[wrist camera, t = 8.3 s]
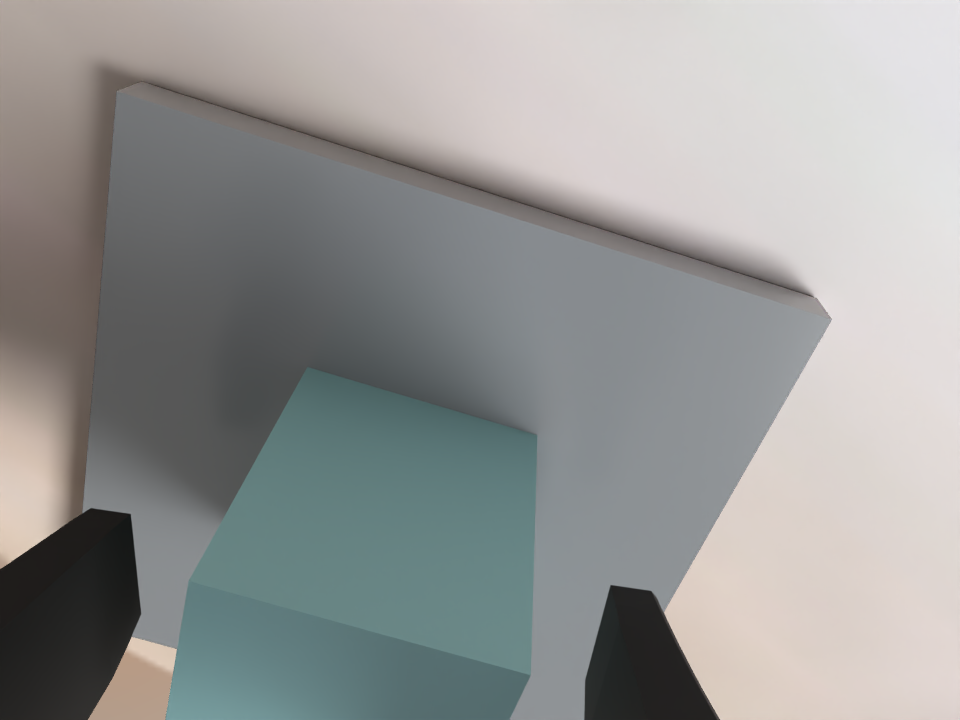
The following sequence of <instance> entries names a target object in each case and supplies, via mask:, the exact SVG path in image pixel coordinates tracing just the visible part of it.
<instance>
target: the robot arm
mask: <svg viewBox="0 0 960 720" xmlns="http://www.w3.org/2000/svg"><path fill="white" fill-rule="evenodd" d="M140 616H141V606H140V596H139V587H138V577H137V567H136V558H135V548H134V539H133V529H132V520H131V514H128V513H121V512H114V511H108V510H101V509H94V508H90V509H89V510H87V511H85V512H84V513H82V514H81V515H79V516H78V517H76V518H75V519H73V520H72V521H70V522H69V523H67V524H66V525H64V526H63V527H62V528H60V529H59V530H57V531H56V532H54V533H53V534H51V535H50V536H48V537H47V538H46V539H44V540H43V541H41V542H40V543H38V544H37V545H35V546H34V547H32V548H31V549H29V550H28V551H27V552H25V553H24V554H22V555H21V556H19V557H18V558H16V559H15V560H13V561H12V562H10V563H9V564H7V565H6V566H4V567H3V568H1V569H0V720H88V718H89V717H90V715H91V713H92V712H93V710H94V708H95V707H96V705H97V703H98V702H99V700H100V698H101V697H102V695H103V693H104V692H105V690H106V688H107V687H108V685H109V683H110V681H111V680H112V678H113V676H114V674H115V671H116V670H117V667H118V665H119V663H120V661H121V658H122V656H123V655H124V652H125V650H126V648H127V646H128V644H129V641H130V639H131V637H132V634H133V632H134V630H135V627H136V625H137V623H138V621H139V618H140ZM584 720H720V719H719V717H718V716H717V714H716V712H715V710H714V709H713V707H712V705H711V703H710V702H709V700H708V698H707V696H706V695H705V693H704V691H703V689H702V688H701V686H700V684H699V682H698V680H697V678H696V676H695V675H694V673H693V671H692V669H691V667H690V665H689V663H688V661H687V659H686V657H685V655H684V653H683V651H682V650H681V648H680V646H679V644H678V642H677V640H676V638H675V635H674V633H673V631H672V629H671V627H670V625H669V623H668V621H667V619H666V617H665V615H664V612H663V610H662V608H661V606H660V604H659V601H658V599H657V597H656V596H655V595H654V593H653V592H652V591H649V590H642V589H635V588H629V587H622V586H615V585H610V589H609V592H608V596H607V600H606V604H605V607H604V611H603V615H602V619H601V622H600V626H599V630H598V634H597V637H596V641H595V645H594V649H593V652H592V656H591V660H590V664H589V667H588V671H587V675H586V679H585V711H584Z"/></svg>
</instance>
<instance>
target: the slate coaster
mask: <svg viewBox="0 0 960 720" xmlns="http://www.w3.org/2000/svg"><path fill="white" fill-rule="evenodd" d="M831 320H832V319H831V317H830V316H829V315H828V313H827V312H826V310H825V309H824V308H823V306H822V305H821V303H820V302H819V301H818V299H817V298H814V297H811V296H808V295H805V294H802V293H799V292H796V291H793V290H789V289H786V288H783V287H780V286H777V285H774V284H771V283H768V282H765V281H761V280H758V279H755V278H752V277H749V276H746V275H743V274H740V273H736V272H733V271H730V270H727V269H724V268H721V267H718V266H715V265H712V264H708V263H705V262H702V261H699V260H696V259H693V258H690V257H687V256H684V255H680V254H677V253H674V252H671V251H668V250H665V249H662V248H659V247H655V246H652V245H649V244H646V243H643V242H640V241H637V240H634V239H631V238H627V237H624V236H621V235H618V234H615V233H612V232H609V231H606V230H603V229H599V228H596V227H593V226H590V225H587V224H584V223H581V222H578V221H575V220H571V219H568V218H565V217H562V216H559V215H556V214H553V213H550V212H546V211H543V210H540V209H537V208H534V207H531V206H528V205H525V204H522V203H518V202H515V201H512V200H509V199H506V198H503V197H500V196H497V195H494V194H490V193H487V192H484V191H481V190H478V189H475V188H472V187H469V186H466V185H462V184H459V183H456V182H453V181H450V180H447V179H444V178H441V177H437V176H434V175H431V174H428V173H425V172H422V171H419V170H416V169H413V168H409V167H406V166H403V165H400V164H397V163H394V162H391V161H388V160H385V159H381V158H378V157H375V156H372V155H369V154H366V153H363V152H360V151H357V150H353V149H350V148H347V147H344V146H341V145H338V144H335V143H332V142H328V141H325V140H322V139H319V138H316V137H313V136H310V135H307V134H304V133H300V132H297V131H294V130H291V129H288V128H285V127H282V126H279V125H276V124H272V123H269V122H266V121H263V120H260V119H257V118H254V117H251V116H247V115H244V114H241V113H238V112H235V111H232V110H229V109H226V108H223V107H219V106H216V105H213V104H210V103H207V102H204V101H201V100H198V99H195V98H191V97H188V96H185V95H182V94H179V93H176V92H173V91H170V90H167V89H163V88H160V87H157V86H154V85H151V84H148V83H145V82H139V83H136V84H134V85H131V86H128V87H126V88H123V89H120V90H118V91H117V92H116V105H115V117H114V129H113V142H112V154H111V166H110V179H109V191H108V203H107V215H106V228H105V240H104V252H103V265H102V277H101V289H100V302H99V314H98V326H97V339H96V351H95V363H94V375H93V388H92V400H91V412H90V425H89V437H88V449H87V462H86V474H85V486H84V498H83V511H82V513H84V512H85V511H87V510H89V509H90V508H94V509H101V510H108V511H114V512H121V513H128V514H131V520H132V529H133V539H134V548H135V558H136V567H137V577H138V587H139V596H140V606H141V616H140V618H139V621H138V623H137V625H136V627H135V630H134V632H133V634H132V637H135V638H139V639H142V640H146V641H150V642H153V643H157V644H161V645H164V646H168V647H172V648H175V649H177V647H178V641H179V635H180V629H181V623H182V617H183V611H184V605H185V599H186V594H187V588H188V582H189V579H190V578H191V576H192V574H193V572H194V570H195V569H196V567H197V565H198V563H199V561H200V560H201V558H202V556H203V554H204V552H205V551H206V549H207V547H208V545H209V543H210V542H211V540H212V538H213V536H214V534H215V533H216V531H217V529H218V527H219V525H220V524H221V522H222V520H223V518H224V516H225V515H226V513H227V511H228V509H229V507H230V506H231V504H232V502H233V500H234V498H235V497H236V495H237V493H238V491H239V489H240V488H241V486H242V484H243V482H244V480H245V479H246V477H247V475H248V473H249V471H250V470H251V468H252V466H253V464H254V462H255V460H256V459H257V457H258V455H259V453H260V451H261V450H262V448H263V446H264V444H265V442H266V441H267V439H268V437H269V435H270V433H271V432H272V430H273V428H274V426H275V424H276V423H277V421H278V419H279V417H280V415H281V414H282V412H283V410H284V408H285V406H286V405H287V403H288V401H289V399H290V397H291V396H292V394H293V392H294V390H295V388H296V387H297V385H298V383H299V381H300V379H301V378H302V376H303V374H304V372H305V370H306V369H307V367H309V368H312V369H316V370H319V371H322V372H326V373H329V374H333V375H336V376H339V377H343V378H346V379H349V380H353V381H356V382H360V383H363V384H366V385H370V386H373V387H376V388H380V389H383V390H387V391H390V392H393V393H397V394H400V395H403V396H407V397H410V398H413V399H417V400H420V401H424V402H427V403H430V404H434V405H437V406H440V407H444V408H447V409H451V410H454V411H457V412H461V413H464V414H467V415H471V416H474V417H477V418H481V419H484V420H488V421H491V422H494V423H498V424H501V425H504V426H508V427H511V428H515V429H518V430H521V431H525V432H528V433H531V434H535V435H537V469H536V506H535V542H534V579H533V615H532V652H531V676H530V678H529V680H528V682H527V684H526V686H525V688H524V690H523V693H522V695H521V697H520V699H519V701H518V703H517V705H516V707H515V709H514V711H513V713H512V715H511V717H510V719H509V720H584V711H585V679H586V675H587V671H588V667H589V664H590V660H591V656H592V652H593V649H594V645H595V641H596V637H597V634H598V630H599V626H600V622H601V619H602V615H603V611H604V607H605V604H606V600H607V596H608V592H609V589H610V585H615V586H622V587H629V588H635V589H642V590H649V591H652V592H653V593H654V595H655V596H656V597H657V599H658V601H659V604H660V606H661V608H662V610H663V612H664V611H665V609H666V607H667V606H668V604H669V602H670V601H671V599H672V597H673V595H674V594H675V592H676V590H677V588H678V587H679V585H680V583H681V581H682V580H683V578H684V576H685V574H686V573H687V571H688V569H689V567H690V566H691V564H692V562H693V560H694V559H695V557H696V555H697V554H698V552H699V550H700V548H701V547H702V545H703V543H704V541H705V540H706V538H707V536H708V534H709V533H710V531H711V529H712V527H713V526H714V524H715V522H716V520H717V519H718V517H719V515H720V514H721V512H722V510H723V508H724V507H725V505H726V503H727V501H728V500H729V498H730V496H731V494H732V493H733V491H734V489H735V487H736V486H737V484H738V482H739V480H740V479H741V477H742V475H743V473H744V472H745V470H746V468H747V467H748V465H749V463H750V461H751V460H752V458H753V456H754V454H755V453H756V451H757V449H758V447H759V446H760V444H761V442H762V440H763V439H764V437H765V435H766V433H767V432H768V430H769V428H770V426H771V425H772V423H773V421H774V420H775V418H776V416H777V414H778V413H779V411H780V409H781V407H782V406H783V404H784V402H785V400H786V399H787V397H788V395H789V393H790V392H791V390H792V388H793V386H794V385H795V383H796V381H797V380H798V378H799V376H800V374H801V373H802V371H803V369H804V367H805V366H806V364H807V362H808V360H809V359H810V357H811V355H812V353H813V352H814V350H815V348H816V346H817V345H818V343H819V341H820V339H821V338H822V336H823V334H824V333H825V331H826V329H827V327H828V326H829V324H830V322H831Z"/></svg>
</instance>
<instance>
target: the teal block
mask: <svg viewBox="0 0 960 720" xmlns="http://www.w3.org/2000/svg"><path fill="white" fill-rule="evenodd" d="M536 469H537V435H535V434H531V433H528V432H525V431H521V430H518V429H515V428H511V427H508V426H504V425H501V424H498V423H494V422H491V421H488V420H484V419H481V418H477V417H474V416H471V415H467V414H464V413H461V412H457V411H454V410H451V409H447V408H444V407H440V406H437V405H434V404H430V403H427V402H424V401H420V400H417V399H413V398H410V397H407V396H403V395H400V394H397V393H393V392H390V391H387V390H383V389H380V388H376V387H373V386H370V385H366V384H363V383H360V382H356V381H353V380H349V379H346V378H343V377H339V376H336V375H333V374H329V373H326V372H322V371H319V370H316V369H312V368H309V367H307V369H306V370H305V372H304V374H303V376H302V378H301V379H300V381H299V383H298V385H297V387H296V388H295V390H294V392H293V394H292V396H291V397H290V399H289V401H288V403H287V405H286V406H285V408H284V410H283V412H282V414H281V415H280V417H279V419H278V421H277V423H276V424H275V426H274V428H273V430H272V432H271V433H270V435H269V437H268V439H267V441H266V442H265V444H264V446H263V448H262V450H261V451H260V453H259V455H258V457H257V459H256V460H255V462H254V464H253V466H252V468H251V470H250V471H249V473H248V475H247V477H246V479H245V480H244V482H243V484H242V486H241V488H240V489H239V491H238V493H237V495H236V497H235V498H234V500H233V502H232V504H231V506H230V507H229V509H228V511H227V513H226V515H225V516H224V518H223V520H222V522H221V524H220V525H219V527H218V529H217V531H216V533H215V534H214V536H213V538H212V540H211V542H210V543H209V545H208V547H207V549H206V551H205V552H204V554H203V556H202V558H201V560H200V561H199V563H198V565H197V567H196V569H195V570H194V572H193V574H192V576H191V578H190V579H189V582H188V588H187V594H186V599H185V605H184V611H183V617H182V623H181V629H180V635H179V641H178V647H177V653H176V659H175V665H174V671H173V677H172V683H171V689H170V695H169V701H168V707H167V713H166V719H165V720H509V719H510V717H511V715H512V713H513V711H514V709H515V707H516V705H517V703H518V701H519V699H520V697H521V695H522V693H523V690H524V688H525V686H526V684H527V682H528V680H529V678H530V676H531V652H532V615H533V579H534V542H535V506H536Z"/></svg>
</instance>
